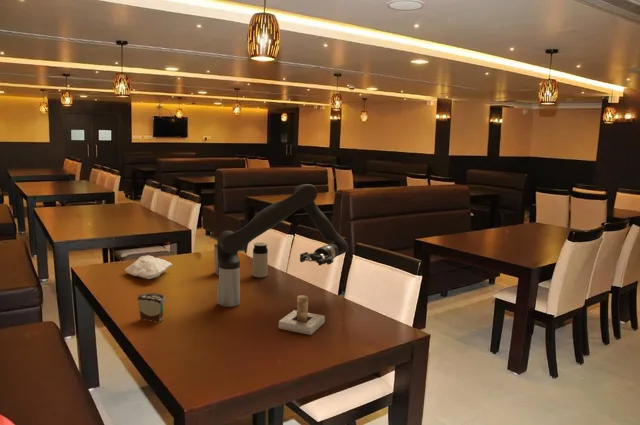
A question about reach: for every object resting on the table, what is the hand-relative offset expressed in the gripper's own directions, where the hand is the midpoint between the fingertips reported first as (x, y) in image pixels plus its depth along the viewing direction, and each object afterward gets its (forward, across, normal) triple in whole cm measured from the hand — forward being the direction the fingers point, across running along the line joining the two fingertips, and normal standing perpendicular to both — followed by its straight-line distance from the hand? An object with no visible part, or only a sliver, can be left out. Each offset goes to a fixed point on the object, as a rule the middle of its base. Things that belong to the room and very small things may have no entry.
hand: (310, 261), depth 203 cm
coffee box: (-35, -67, +24) cm, 79 cm away
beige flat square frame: (+13, +4, +24) cm, 27 cm away
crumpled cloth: (-13, -98, +26) cm, 102 cm away
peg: (+12, +4, +24) cm, 27 cm away
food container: (+34, -53, +26) cm, 68 cm away
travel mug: (-40, -47, +24) cm, 66 cm away
